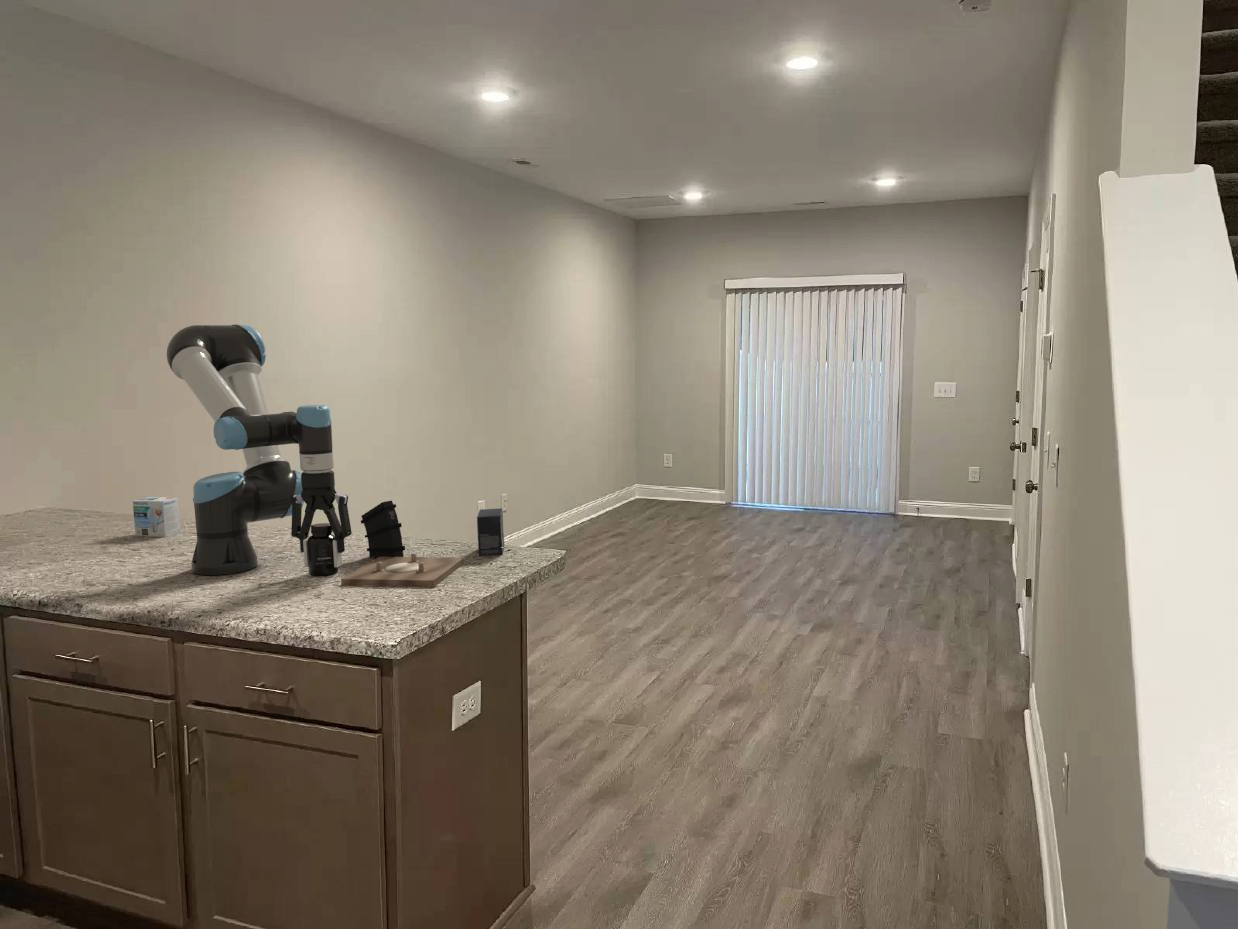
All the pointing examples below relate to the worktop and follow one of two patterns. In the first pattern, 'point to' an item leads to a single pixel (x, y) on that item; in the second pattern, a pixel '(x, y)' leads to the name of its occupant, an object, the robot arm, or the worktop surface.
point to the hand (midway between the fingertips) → (323, 565)
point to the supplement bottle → (321, 551)
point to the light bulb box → (156, 516)
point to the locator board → (403, 571)
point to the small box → (490, 532)
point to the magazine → (383, 531)
